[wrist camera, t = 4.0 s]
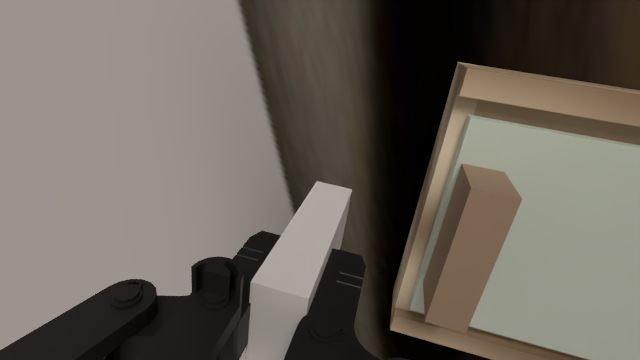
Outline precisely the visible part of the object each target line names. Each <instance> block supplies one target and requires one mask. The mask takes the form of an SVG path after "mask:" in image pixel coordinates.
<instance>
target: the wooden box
mask: <svg viewBox="0 0 640 360" xmlns="http://www.w3.org/2000/svg"><path fill="white" fill-rule="evenodd" d="M468 115H474V116H479V117H485V118H491V119H496V120H502V121H507V122H513V123H518V124H524V125H530V126H535V127H541V128H546V129H552V130H557V131H563V132H568V133H574V134H580V135H585V136H591V137H596V138H602V139H607V140H613V141H619V142H624V143H630V144H635V145H640V90H634V89H627V88H621V87H615V86H608V85H602V84H595V83H589V82H583V81H576V80H570V79H563V78H557V77H551V76H544V75H538V74H531V73H525V72H518V71H512V70H506V69H499V68H493V67H486V66H480V65H474V64H467V63H461V62H458V63H457V66H456V70H455V74H454V77H453V81H452V84H451V88H450V91H449V95H448V98H447V102H446V105H445V109H444V112H443V116H442V119H441V123H440V127H439V130H438V134H437V137H436V141H435V144H434V148H433V151H432V155H431V158H430V162H429V165H428V169H427V172H426V176H425V180H424V183H423V187H422V190H421V194H420V197H419V201H418V204H417V208H416V211H415V215H414V218H413V222H412V225H411V229H410V233H409V236H408V240H407V243H406V247H405V250H404V254H403V257H402V261H401V264H400V268H399V271H398V275H397V278H396V282H395V286H394V289H393V299H392V312H391V324H390V330H392V331H396V332H399V333H402V334H406V335H409V336H413V337H416V338H420V339H423V340H427V341H430V342H433V343H437V344H440V345H444V346H447V347H451V348H454V349H458V350H461V351H464V352H468V353H471V354H475V355H478V356H482V357H485V358H489V359H492V360H589V359H585V358H581V357H578V356H574V355H571V354H567V353H563V352H560V351H556V350H553V349H549V348H545V347H542V346H538V345H535V344H531V343H528V342H524V341H520V340H517V339H513V338H510V337H506V336H502V335H499V334H495V333H492V332H488V331H484V330H481V329H477V328H474V327H470V326H469V327H468V329H467V332H466V333H464V332H460V331H456V330H453V329H449V328H446V327H442V326H439V325H435V324H432V323H428V322H425V315H424V314H423V313H420V312H416V311H412V310H410V299H411V296H412V293H413V289H414V286H415V283H416V280H417V277H418V273H419V270H420V267H421V264H422V261H423V258H424V254H425V251H426V248H427V245H428V242H429V238H430V235H431V232H432V229H433V226H434V222H435V219H436V216H437V213H438V210H439V207H440V203H441V200H442V197H443V194H444V191H445V187H446V184H447V181H448V178H449V175H450V171H451V168H452V165H453V162H454V159H455V155H456V152H457V149H458V146H459V143H460V140H461V136H462V133H463V130H464V127H465V124H466V120H467V117H468Z"/></svg>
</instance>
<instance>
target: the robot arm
mask: <svg viewBox="0 0 640 360" xmlns="http://www.w3.org/2000/svg"><path fill="white" fill-rule="evenodd" d="M351 193H352V189H348V188H344V187H340V186H335V185H331V184H327V183H322V182H318V181H317V182H316V183H315V185H314V186H313V188H312V189H311V191H310V193H309V194H308V196H307V197H306V199H305V200H304V202H303V203H302V205H301V206H300V208H299V209H298V211H297V212H296V214H295V215H294V217H293V218H292V220H291V221H290V223H289V225H288V226H287V227H286V229H285V230H284V232H283V233H282V235H281V236H280V235H276V234H273V233H269V232H265V231H261V232H259V233H257V234H255V235H253V236H251V237H250V238H249V239H248V240H247V242H246V243H245V244H244V246H243V248H241V249H240V250H239V252H238V253H237V255H236V256H235V257H234V258H233V259H230V258H225V257H211V258H206V259H204V260H201V261H198V262H197V263H196V264H194V265H193V266H192V293H191V294H190V295H188V296H157V293H156V287H154V285H153V284H152V283H150V282H148V281H145V280H141V279H139V280H138V279H130V280H125V281H121V282H118V283H116V284H113V285H111V286H109V287H107V288H106V289H104V290H102V291H101V292H99V293H97V294H95V295H94V296H92V297H90V298H89V299H87V300H85V301H83V302H82V303H80V304H78V305H77V306H75V307H73V308H72V309H70V310H68V311H66V312H65V313H63V314H61V315H60V316H58V317H57V318H55V319H53V320H51V321H49V322H48V323H46V324H44V325H43V326H41V327H39V328H38V329H36V330H34V331H32V332H31V333H29V334H27V335H26V336H24V337H22V338H20V339H19V340H17V341H15V342H14V343H12V344H10V345H9V346H7V347H5V348H4V349H2V350H0V360H239V358H240V357H241V355H242V353H243V351H244V349H245V347H246V356H245V358H246V359H248V360H380V359H378V358H377V357H375V356H373V355H372V354H371V353H369V352H368V351H367V350H365V349H364V348H363V346H362V345H361V344H360V343H359V341H358V340H357V338H356V336H355V332H354V321H355V316H356V311H357V306H358V301H359V296H360V292H361V287H362V282H363V277H364V272H365V267H366V266H365V264H364V261H363V259H362V256H361V255H357V254H353V253H349V252H345V251H342V250H340V247H341V244H342V239H343V234H344V229H345V224H346V219H347V213H348V208H349V203H350V198H351ZM387 360H408V359H405V358H401V357H396V358H389V359H387Z"/></svg>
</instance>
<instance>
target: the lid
mask: <svg viewBox="0 0 640 360" xmlns="http://www.w3.org/2000/svg"><path fill="white" fill-rule="evenodd" d="M410 310H412V311H416V312H420V313H423V314H424V315H425V322H428V323H432V324H435V325H439V326H442V327H446V328H449V329H453V330H456V331H460V332H464V333H466V332H467V329H468V327H469V326H470V327H474V328H477V329H481V330H484V331H488V332H492V333H495V334H499V335H502V336H506V337H510V338H513V339H517V340H520V341H524V342H528V343H531V344H535V345H538V346H542V347H545V348H549V349H553V350H556V351H560V352H563V353H567V354H571V355H574V356H578V357H581V358H585V359H589V360H640V145H635V144H630V143H624V142H619V141H613V140H607V139H602V138H596V137H591V136H585V135H580V134H574V133H568V132H563V131H557V130H552V129H546V128H541V127H535V126H530V125H524V124H518V123H513V122H507V121H502V120H496V119H491V118H485V117H479V116H474V115H468V117H467V120H466V124H465V127H464V130H463V133H462V136H461V140H460V143H459V146H458V149H457V152H456V155H455V159H454V162H453V165H452V168H451V171H450V175H449V178H448V181H447V184H446V187H445V191H444V194H443V197H442V200H441V203H440V207H439V210H438V213H437V216H436V219H435V222H434V226H433V229H432V232H431V235H430V238H429V242H428V245H427V248H426V251H425V254H424V258H423V261H422V264H421V267H420V270H419V273H418V277H417V280H416V283H415V286H414V289H413V293H412V296H411V299H410Z"/></svg>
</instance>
